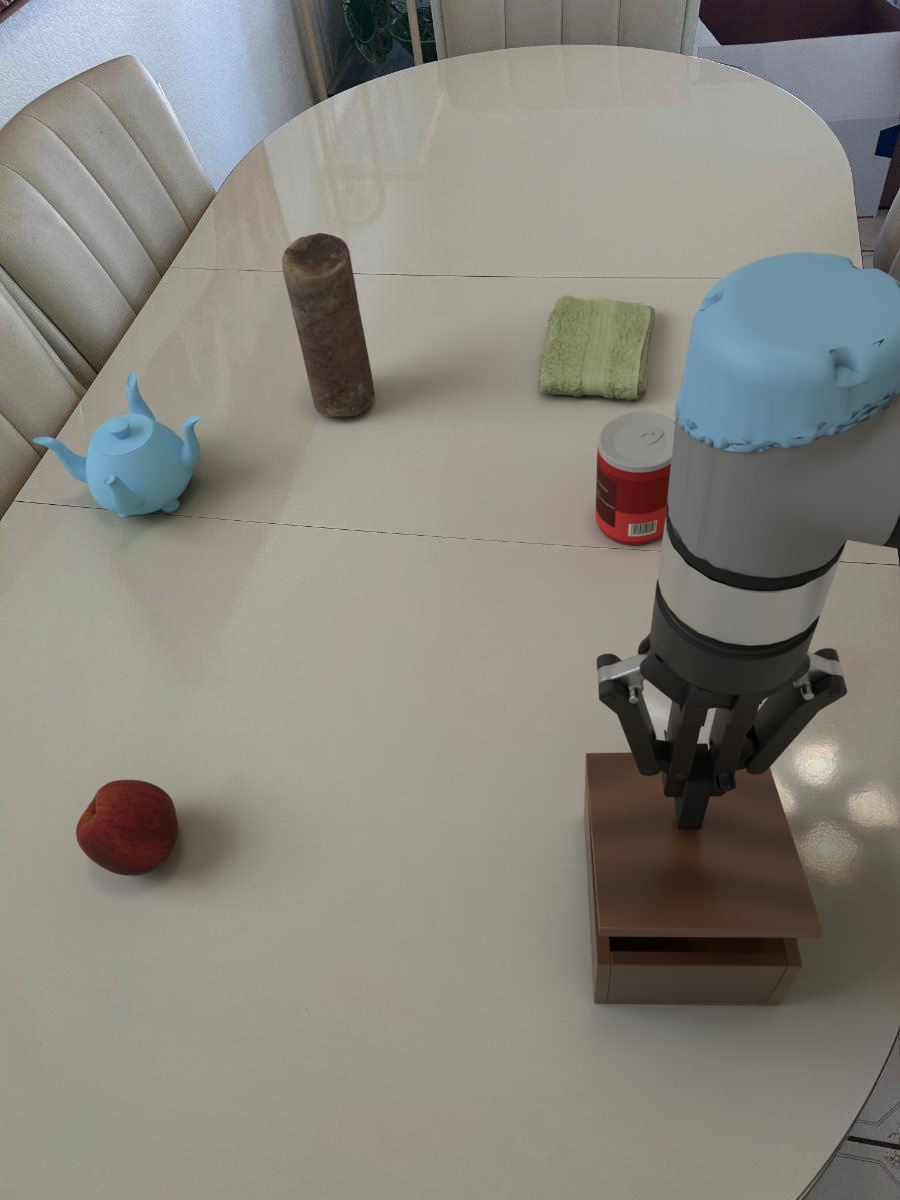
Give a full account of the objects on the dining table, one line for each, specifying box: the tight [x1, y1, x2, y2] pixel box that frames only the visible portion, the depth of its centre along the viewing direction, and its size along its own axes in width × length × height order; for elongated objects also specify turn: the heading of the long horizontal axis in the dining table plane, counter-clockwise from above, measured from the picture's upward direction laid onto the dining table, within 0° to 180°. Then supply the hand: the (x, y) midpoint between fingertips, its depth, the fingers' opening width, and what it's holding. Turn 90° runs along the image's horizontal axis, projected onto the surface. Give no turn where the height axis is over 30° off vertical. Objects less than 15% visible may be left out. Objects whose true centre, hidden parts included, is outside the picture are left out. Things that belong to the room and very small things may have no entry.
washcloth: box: [537, 294, 656, 401], centre depth 111 cm, size 13×18×3 cm
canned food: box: [595, 411, 675, 546], centre depth 91 cm, size 8×8×11 cm
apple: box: [75, 779, 179, 877], centre depth 75 cm, size 7×8×8 cm
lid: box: [585, 752, 823, 939], centre depth 61 cm, size 16×13×1 cm
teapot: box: [32, 372, 202, 518], centre depth 101 cm, size 13×13×10 cm
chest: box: [583, 765, 803, 1007], centre depth 67 cm, size 15×13×9 cm
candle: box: [281, 232, 376, 418], centre depth 103 cm, size 8×7×20 cm
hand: (687, 810), depth 62 cm, fingers closed
